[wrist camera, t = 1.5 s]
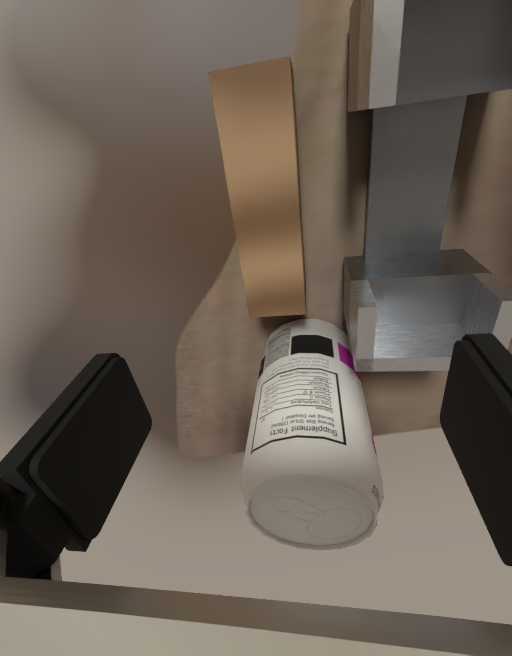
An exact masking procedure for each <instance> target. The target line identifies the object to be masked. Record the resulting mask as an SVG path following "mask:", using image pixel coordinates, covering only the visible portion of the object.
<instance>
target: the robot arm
mask: <svg viewBox="0 0 512 656" xmlns="http://www.w3.org/2000/svg"><path fill="white" fill-rule="evenodd" d="M440 423H441V427H442V429H443V431H444V433H445V436H446V438H447V440H448V443H449V445H450V447H451V449H452V451H453V454H454V456H455V458H456V460H457V462H458V464H459V467H460V469H461V471H462V474H463V476H464V478H465V480H466V483H467V485H468V487H469V489H470V492H471V494H472V496H473V498H474V500H475V503H476V505H477V507H478V509H479V511H480V514H481V516H482V518H483V520H484V523H485V525H486V527H487V529H488V532H489V534H490V536H491V538H492V540H493V543H494V545H495V547H496V549H497V551H498V554H499V556H500V558H501V559H502V561H503V562H504V564H506V565H507V566H512V355H511V353H510V352H509V351H508V350H507V349H506V348H505V347H504V346H503V344H502V343H501V342H500V341H499V340H498V339H497V338H496V337H495V336H494V335H493V334H491V333H482V334H466V335H464V336H463V337H462V339H461V340H457V341H456V342H455V343H454V347H453V352H452V357H451V362H450V367H449V372H448V377H447V382H446V387H445V392H444V397H443V402H442V407H441V412H440ZM151 426H152V419H151V416H150V414H149V412H148V409H147V407H146V405H145V403H144V401H143V398H142V396H141V394H140V392H139V389H138V387H137V385H136V383H135V381H134V378H133V376H132V374H131V372H130V370H129V367H128V365H127V363H126V361H125V360H124V358H121V357H120V356H119V355H118V354H117V353H106V354H97V355H95V356H94V357H93V359H92V360H91V361H90V362H89V363H88V364H87V365H86V366H85V367H84V368H83V370H82V371H81V372H80V373H79V374H78V375H77V376H76V377H75V378H74V380H73V381H72V382H71V383H70V384H69V385H68V386H67V387H66V389H65V390H64V391H63V392H62V393H61V394H60V395H59V396H58V398H57V399H56V400H55V401H54V402H53V403H52V404H51V406H50V407H49V408H48V409H47V410H46V411H45V412H44V413H43V415H42V416H41V417H40V418H39V419H38V420H37V421H36V422H35V423H34V425H33V426H32V427H31V428H30V429H29V430H28V431H27V433H26V434H25V435H24V436H23V437H22V438H21V439H20V440H19V441H18V443H17V444H16V445H15V446H14V447H13V448H12V449H11V451H10V452H9V453H8V454H7V455H6V456H5V457H4V458H3V459H2V461H1V462H0V656H512V625H509V624H500V623H492V622H484V621H475V620H466V619H458V618H448V617H441V616H430V615H420V614H410V613H399V612H389V611H379V610H369V609H359V608H358V609H357V608H348V607H337V606H328V605H318V604H308V603H298V602H287V601H276V600H266V599H254V598H244V597H233V596H222V595H212V594H200V593H190V592H179V591H168V590H157V589H146V588H135V587H124V586H112V585H101V584H89V583H78V582H66V581H62V577H61V566H60V554H61V552H62V550H63V548H64V547H65V548H66V549H67V550H69V551H83V552H86V550H87V548H88V546H89V544H90V542H91V540H92V539H94V538H95V537H96V536H97V535H98V534H99V532H100V531H101V529H102V526H103V524H104V523H105V521H106V518H107V516H108V514H109V512H110V510H111V508H112V506H113V504H114V502H115V500H116V498H117V496H118V494H119V492H120V490H121V488H122V486H123V484H124V482H125V480H126V478H127V476H128V474H129V472H130V470H131V468H132V466H133V464H134V462H135V460H136V458H137V456H138V454H139V452H140V450H141V448H142V446H143V444H144V442H145V440H146V438H147V436H148V434H149V432H150V430H151Z"/></svg>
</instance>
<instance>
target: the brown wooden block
mask: <svg viewBox="0 0 512 656" xmlns="http://www.w3.org/2000/svg"><path fill="white" fill-rule="evenodd" d="M208 73H209V78H210V85H211V91H212V96H213V103H214V108H215V115H216V120H217V126H218V133H219V138H220V144H221V150H222V156H223V162H224V168H225V174H226V180H227V186H228V192H229V198H230V204H231V210H232V215H233V222H234V228H235V234H236V240H237V246H238V252H239V258H240V264H241V270H242V276H243V282H244V288H245V294H246V300H247V305H248V311H249V317H266V316H284V315H303V314H306V280H305V263H304V246H303V230H302V213H301V196H300V179H299V162H298V145H297V128H296V111H295V94H294V78H293V67H292V63H291V59H290V57H284V58H279V59H274V60H269V61H264V62H258V63H253V64H248V65H243V66H238V67H233V68H228V69H223V70H217V71H212V72H208Z"/></svg>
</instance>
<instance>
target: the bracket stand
mask: <svg viewBox="0 0 512 656" xmlns="http://www.w3.org/2000/svg"><path fill="white" fill-rule="evenodd" d="M506 89H512V0H354V1H353V3H352V6H351V8H350V27H349V71H348V112H353V111H360V110H367V109H372V111H371V129H370V147H369V166H368V184H367V202H366V220H365V238H364V256H353V257H344V290H343V312H344V317H345V322H346V328H347V333H348V338H349V343H350V348H351V353H352V358H353V363H354V368H355V372H373V371H449V367H450V362H451V357H452V352H453V347H454V343H455V342H456V341H457V340H461V339H462V337H463V336H464V335H466V334H482V333H491V334H493V335H494V336H495V337H496V338H497V339H498V340H499V341H500V342H501V343H502V344H503V346H504V347H505V348H506V349H508V346H509V343H510V341H511V338H512V289H510V288H509V287H508V286H507V285H506V284H504V283H503V282H502V281H501V280H499V279H498V278H497V277H496V276H495V275H493V274H492V273H491V272H490V271H489V270H487V269H486V268H485V267H484V266H483V265H481V264H480V263H479V262H478V261H477V260H475V259H474V258H473V257H472V256H470V255H469V254H468V253H467V252H466V251H464V250H463V249H454V250H439V249H440V244H441V238H442V232H443V227H444V221H445V216H446V210H447V205H448V199H449V194H450V188H451V183H452V177H453V172H454V166H455V161H456V155H457V150H458V144H459V138H460V133H461V127H462V122H463V116H464V111H465V105H466V100H467V95H471V94H478V93H485V92H492V91H499V90H506Z"/></svg>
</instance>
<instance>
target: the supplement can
mask: <svg viewBox="0 0 512 656" xmlns="http://www.w3.org/2000/svg"><path fill="white" fill-rule="evenodd" d="M240 489H241V491H242V494H243V497H244V500H245V503H246V506H247V511H246V514H247V516H248V518H249V520H250V522H251V524H252V525H253V526H254V527H255V528H256V529H257V530H258V531H260V532H261V533H262V534H263V535H265V536H267V537H269V538H271V539H273V540H275V541H277V542H279V543H282V544H285V545H289V546H293V547H296V548H303V549H312V550H330V549H340V548H345V547H348V546H351V545H355V544H358V543H359V542H361V541H363V540H364V539H366V538H367V537H369V536H370V535H371V534H372V532H373V530H374V529H375V527H376V525H377V520H376V517H377V514H378V511H379V509H380V506H381V503H382V500H383V498H384V497H383V484H382V478H381V474H380V469H379V464H378V460H377V455H376V450H375V446H374V441H373V436H372V431H371V427H370V422H369V417H368V413H367V408H366V403H365V398H364V394H363V389H362V384H361V380H360V375H359V372H355V368H354V363H353V358H352V353H351V348H350V343H349V338H348V336H347V335H346V333H345V332H343V331H342V330H340V329H339V328H338V327H336V326H335V325H334V324H331V323H328V322H325V321H321V320H318V319H298V320H295V321H292V322H289V323H286V324H283V325H282V326H280V327H279V328H278V329H276V330H275V331H274V332H272V333H271V335H270V336H269V338H268V340H267V341H266V343H265V344H264V350H263V355H262V361H261V366H260V372H259V378H258V383H257V389H256V394H255V400H254V405H253V411H252V417H251V422H250V428H249V433H248V439H247V444H246V450H245V455H244V461H243V467H242V472H241V481H240Z"/></svg>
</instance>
